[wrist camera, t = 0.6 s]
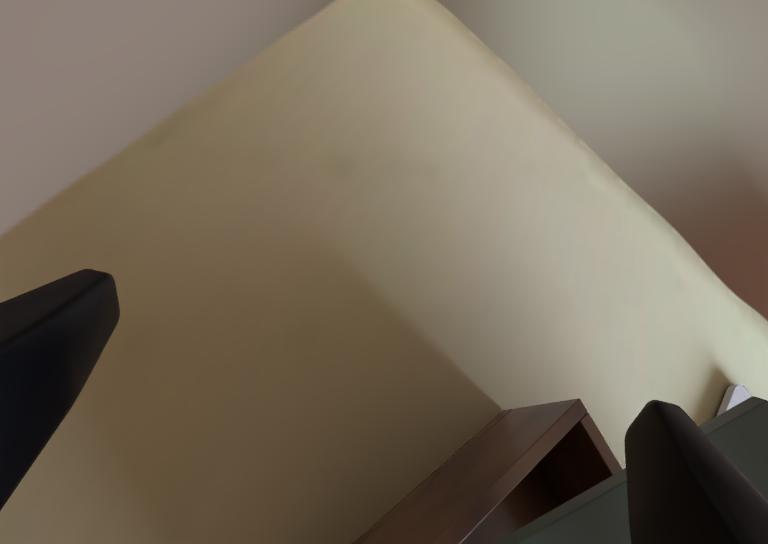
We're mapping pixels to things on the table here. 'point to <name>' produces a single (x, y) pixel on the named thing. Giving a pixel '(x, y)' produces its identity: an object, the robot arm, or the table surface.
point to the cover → (609, 498)
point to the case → (503, 478)
